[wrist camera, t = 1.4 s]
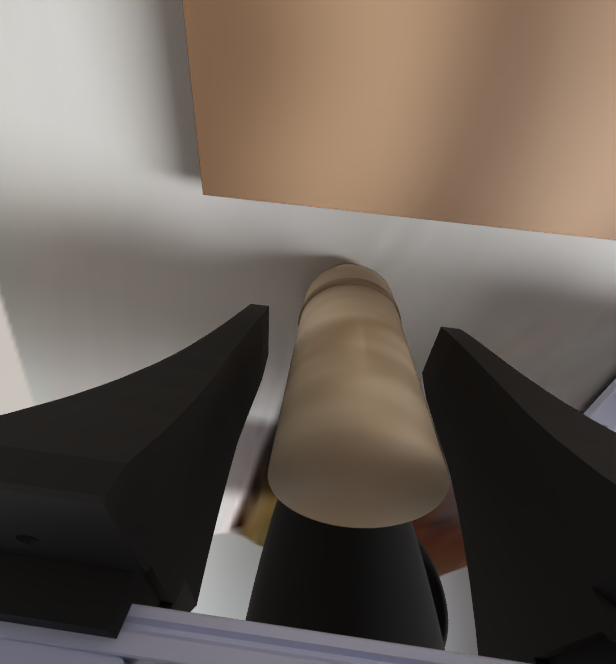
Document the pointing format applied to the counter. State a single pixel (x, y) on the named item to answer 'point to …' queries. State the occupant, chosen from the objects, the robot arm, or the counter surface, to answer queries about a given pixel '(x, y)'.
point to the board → (411, 108)
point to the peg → (355, 412)
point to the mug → (349, 582)
